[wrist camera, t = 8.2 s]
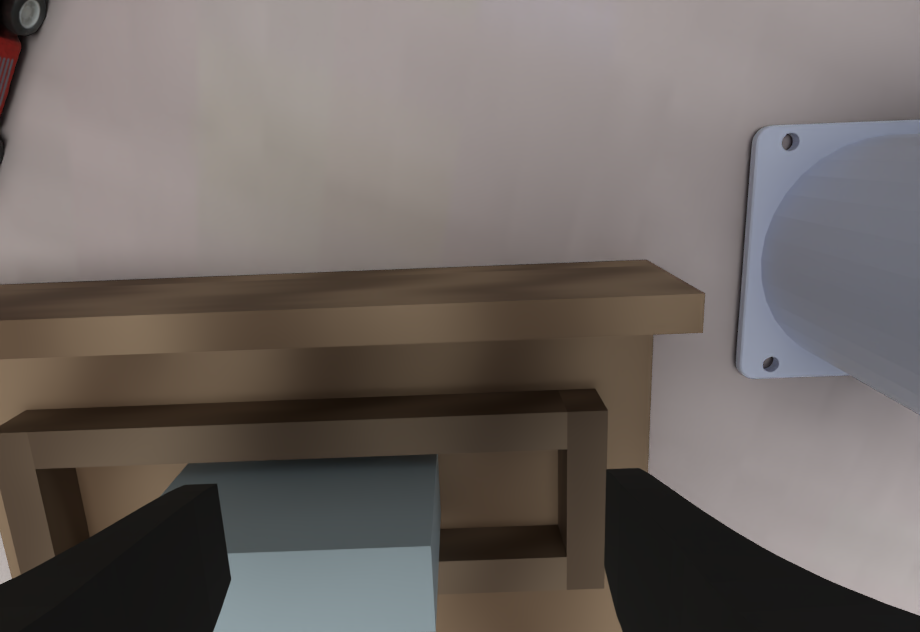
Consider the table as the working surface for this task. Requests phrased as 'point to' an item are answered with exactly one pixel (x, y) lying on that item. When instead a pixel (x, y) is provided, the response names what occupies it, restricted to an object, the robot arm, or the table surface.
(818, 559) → the table surface
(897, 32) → the table surface
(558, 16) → the table surface
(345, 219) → the table surface
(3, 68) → the toy fire truck
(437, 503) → the grey-blue rectangular block
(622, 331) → the track base
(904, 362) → the robot arm
